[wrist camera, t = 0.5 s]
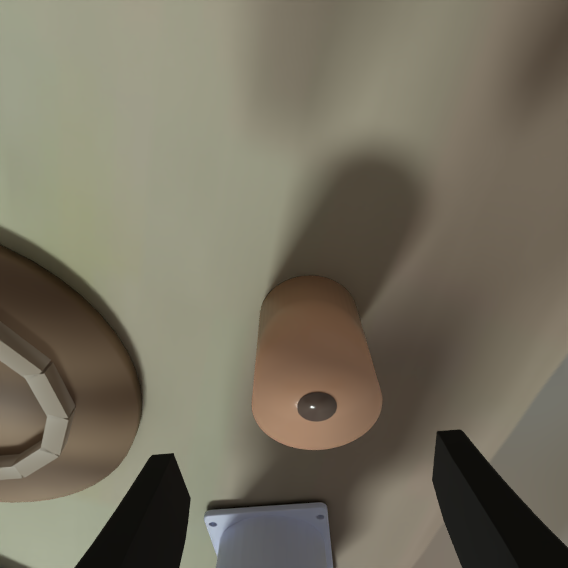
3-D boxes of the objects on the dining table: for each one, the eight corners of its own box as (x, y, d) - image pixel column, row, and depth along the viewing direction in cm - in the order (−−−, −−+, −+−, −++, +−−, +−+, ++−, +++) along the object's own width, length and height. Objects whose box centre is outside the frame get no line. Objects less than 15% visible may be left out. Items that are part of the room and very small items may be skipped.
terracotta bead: (358, 351, 20) (382, 446, 15) (266, 360, 20) (261, 455, 15) (356, 270, 18) (383, 350, 13) (252, 280, 18) (241, 363, 13)
